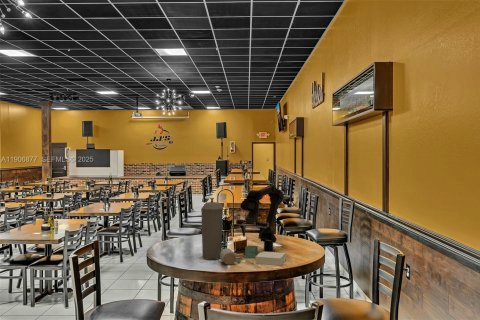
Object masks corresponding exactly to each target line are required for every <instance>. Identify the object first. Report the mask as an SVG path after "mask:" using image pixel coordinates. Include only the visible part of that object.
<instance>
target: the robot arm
mask: <svg viewBox="0 0 480 320" xmlns="http://www.w3.org/2000/svg"><path fill="white" fill-rule="evenodd" d="M266 195H268V197H269V202H270V206H269V209H268V213H267V216H266V221H260V222H259V216H260V214H259V212H260V205H262V202H261V200H262V199H263V198H264V196H266ZM284 197H285V195H284V193H283V191H282V190H280V189H279V188H277V186H275V185H267V186H265V187H263V188H262V187H261V188H260V189H252V190H249V192H248V194H247V195H246V197H245V198H243V200H242V201H241V203H240V209H241V210H242V211H247V212H248V214H247V216H246V217H245V219H236V223H235V224H236V225H237V226H238V227H239V228H240V229H241V233H242V237H243V238H245V237H246V225H249V226H250V225H251V226H259V231H258V240H260V242H263V250H262V251H264V252H276V251H275V249H274V243H276V242H277V237H276V235H275V229H274V224H275V220H276V217H277V214H278V208H279V206H280V205H281V204H282V202H283V200H284Z"/></svg>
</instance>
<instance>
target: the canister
mask: <svg viewBox="0 0 480 320" xmlns="http://www.w3.org/2000/svg"><path fill="white" fill-rule="evenodd" d="M209 199H210V202H209V201H207V202H205V204H204V205H203V206H202V207H201V210H200V211H201V212H200V213H201V243H202V244H201V245H202V246H201V249H202V258H203V259H205V260H212V261H213V260H219V259H220V253H221V251H222V250H223V249H222V248H223V247H222V245H223V242H222V240H223V210H224V208H223V206H222V205H221V204H219V202H216V201H214V199H215V198H214V197H210V198H209Z"/></svg>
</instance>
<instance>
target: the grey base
mask: <svg viewBox="0 0 480 320" xmlns="http://www.w3.org/2000/svg"><path fill="white" fill-rule="evenodd" d="M286 259H287V253H286V252H278V251H277V252H276V251H274V252H264V251H263V250H262V251H260V252H258V255H257V256H255V258H254V260H255V262H254V263H255V265H267V266H277V267H278V266H279V267H281V266H282V265H283V264H284V263H285V261H287V260H286Z"/></svg>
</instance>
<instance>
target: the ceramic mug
mask: <svg viewBox="0 0 480 320" xmlns="http://www.w3.org/2000/svg"><path fill="white" fill-rule="evenodd" d="M219 259H220V260H221V261H222V262H223V263H224V264H226V265H228V266H229V265H233V264H234V263H237V264H240V263H241V260H240V259H239V258H237V257H236V254H235V252H234V251H232V249H230V248H224V249H222V250H221V253H220V258H219Z"/></svg>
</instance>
